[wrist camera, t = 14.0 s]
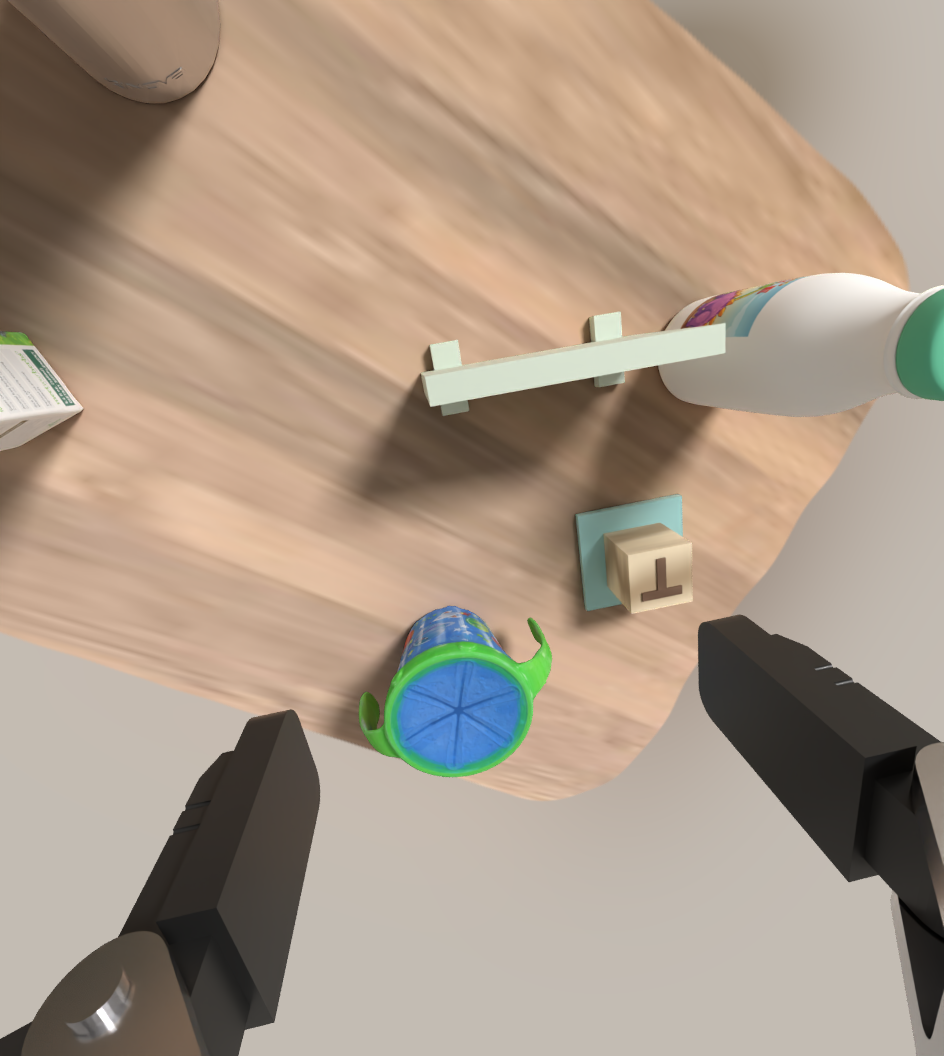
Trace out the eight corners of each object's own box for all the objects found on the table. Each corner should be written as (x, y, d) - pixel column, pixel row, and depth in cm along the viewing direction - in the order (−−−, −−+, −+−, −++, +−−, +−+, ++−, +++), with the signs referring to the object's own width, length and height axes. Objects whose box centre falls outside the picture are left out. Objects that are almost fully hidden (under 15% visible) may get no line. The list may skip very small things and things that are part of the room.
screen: (415, 347, 35) (417, 340, 24) (628, 310, 36) (725, 286, 25) (429, 416, 37) (436, 440, 26) (631, 379, 38) (725, 386, 27)
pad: (575, 514, 41) (577, 516, 40) (678, 493, 42) (681, 495, 41) (584, 608, 44) (587, 611, 43) (680, 588, 45) (683, 590, 44)
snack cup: (516, 561, 42) (548, 619, 32) (546, 660, 45) (583, 739, 36) (342, 619, 42) (322, 696, 32) (386, 714, 45) (380, 809, 36)
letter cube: (603, 533, 41) (628, 556, 36) (660, 522, 42) (693, 543, 37) (607, 588, 43) (632, 616, 38) (661, 577, 43) (693, 603, 38)
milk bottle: (745, 397, 40) (1048, 427, 21) (653, 409, 39) (879, 452, 20) (752, 292, 37) (1104, 218, 18) (654, 304, 36) (913, 241, 18)
